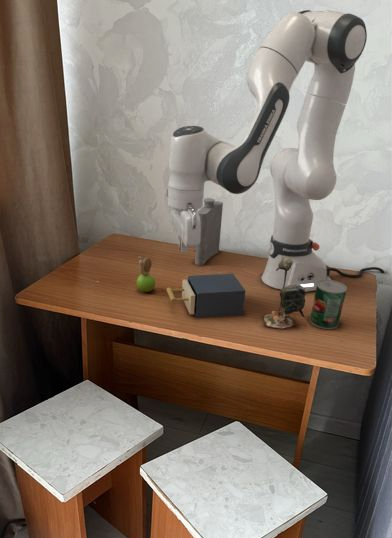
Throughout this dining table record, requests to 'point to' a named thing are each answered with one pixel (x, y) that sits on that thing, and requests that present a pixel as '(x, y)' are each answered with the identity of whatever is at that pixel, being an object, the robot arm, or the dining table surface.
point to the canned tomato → (328, 304)
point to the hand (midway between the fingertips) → (183, 251)
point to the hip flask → (209, 230)
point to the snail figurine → (145, 276)
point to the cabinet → (217, 295)
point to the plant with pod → (287, 300)
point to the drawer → (185, 296)
